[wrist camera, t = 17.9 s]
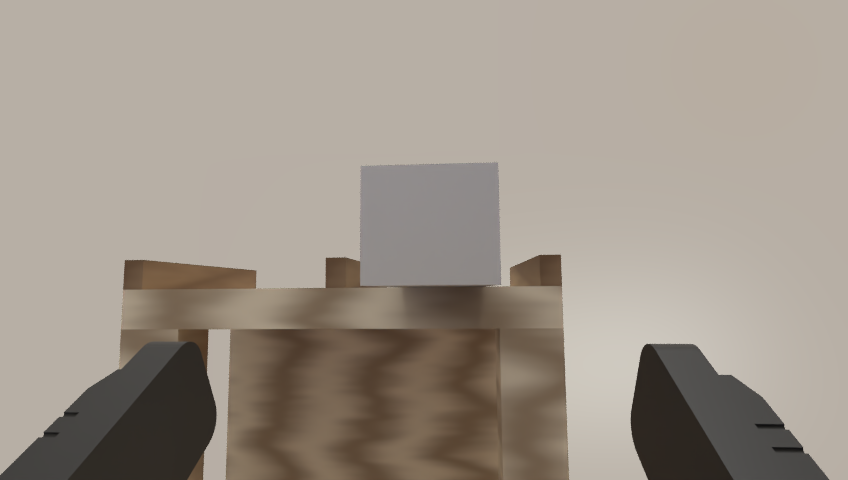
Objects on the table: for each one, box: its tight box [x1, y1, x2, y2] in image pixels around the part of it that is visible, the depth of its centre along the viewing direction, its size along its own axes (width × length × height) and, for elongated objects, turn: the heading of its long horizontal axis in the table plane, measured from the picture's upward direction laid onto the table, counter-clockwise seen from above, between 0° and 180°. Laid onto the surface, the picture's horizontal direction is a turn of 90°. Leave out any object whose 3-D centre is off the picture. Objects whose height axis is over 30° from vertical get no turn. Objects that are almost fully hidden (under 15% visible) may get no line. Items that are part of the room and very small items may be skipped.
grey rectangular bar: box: [360, 163, 501, 287], centre depth 26 cm, size 4×24×4 cm, turn 176°
